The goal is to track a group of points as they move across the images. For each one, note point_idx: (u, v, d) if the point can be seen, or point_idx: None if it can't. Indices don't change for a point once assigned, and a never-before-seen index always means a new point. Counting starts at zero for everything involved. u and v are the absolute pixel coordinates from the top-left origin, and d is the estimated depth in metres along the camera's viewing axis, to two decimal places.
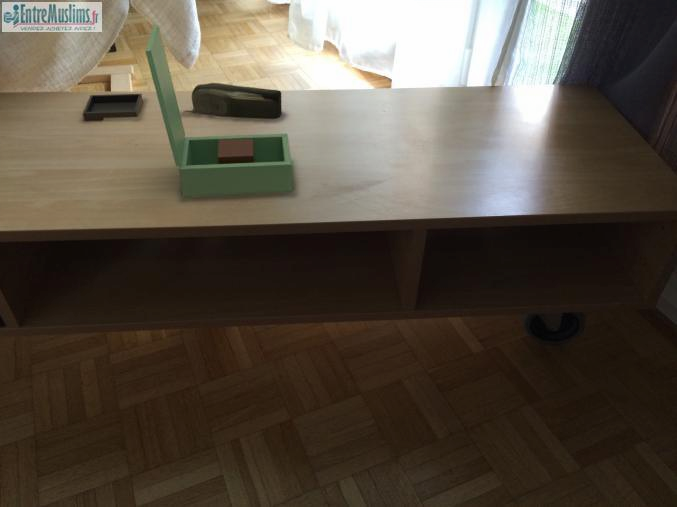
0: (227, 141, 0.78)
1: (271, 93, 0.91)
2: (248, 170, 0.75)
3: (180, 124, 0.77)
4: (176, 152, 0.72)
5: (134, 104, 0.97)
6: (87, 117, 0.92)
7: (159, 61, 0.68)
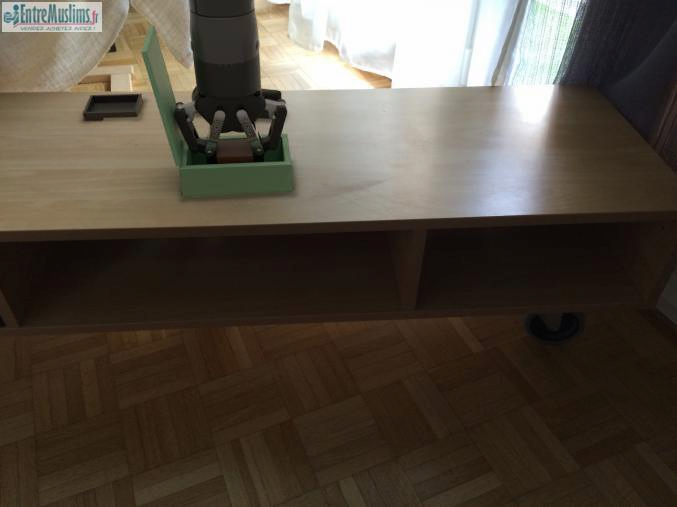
0: (226, 141, 0.78)
1: (271, 93, 0.91)
2: (248, 170, 0.75)
3: None
4: (175, 152, 0.72)
5: (134, 104, 0.97)
6: (87, 117, 0.92)
7: (156, 61, 0.68)
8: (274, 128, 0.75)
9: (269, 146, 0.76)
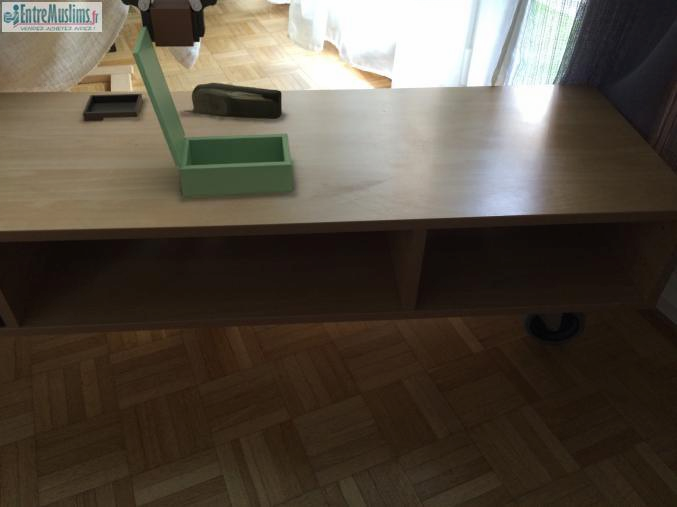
0: None
1: (271, 93, 0.91)
2: (248, 170, 0.75)
3: (178, 124, 0.77)
4: (174, 152, 0.72)
5: (134, 104, 0.97)
6: (87, 117, 0.92)
7: (149, 62, 0.68)
8: None
9: (207, 0, 0.71)
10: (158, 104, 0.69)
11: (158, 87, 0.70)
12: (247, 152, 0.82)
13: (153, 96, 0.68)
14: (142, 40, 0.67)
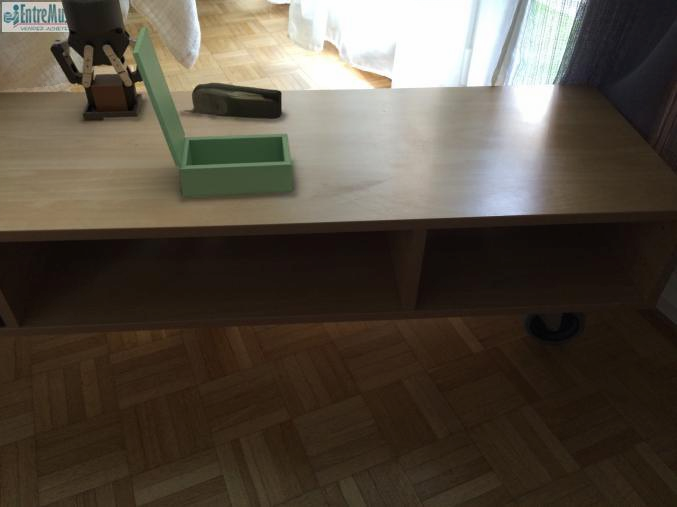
0: (103, 75, 0.93)
1: (271, 93, 0.91)
2: (248, 170, 0.75)
3: (178, 124, 0.77)
4: (174, 152, 0.72)
5: None
6: (87, 117, 0.92)
7: (149, 62, 0.68)
8: None
9: (136, 78, 0.91)
10: (158, 104, 0.69)
11: (158, 87, 0.70)
12: (247, 152, 0.82)
13: (153, 96, 0.68)
14: (142, 40, 0.67)
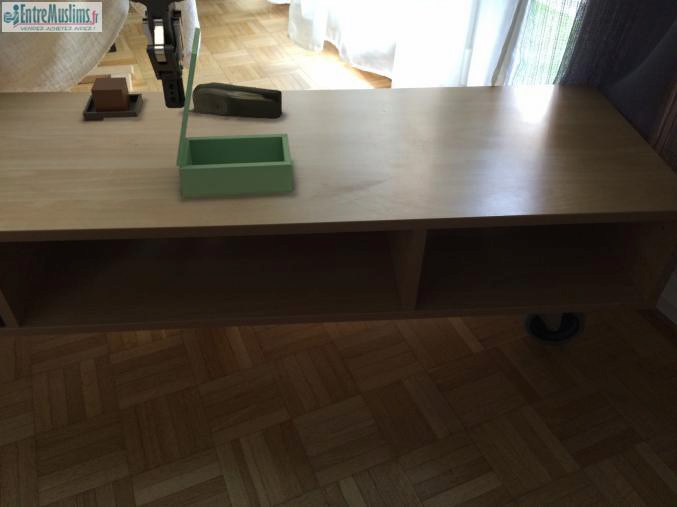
0: (103, 79, 0.93)
1: (271, 93, 0.91)
2: (248, 170, 0.75)
3: None
4: (181, 153, 0.72)
5: (134, 104, 0.97)
6: (87, 117, 0.92)
7: None
8: None
9: (181, 57, 0.71)
10: (189, 105, 0.69)
11: None
12: (247, 152, 0.82)
13: (189, 97, 0.68)
14: (198, 42, 0.68)
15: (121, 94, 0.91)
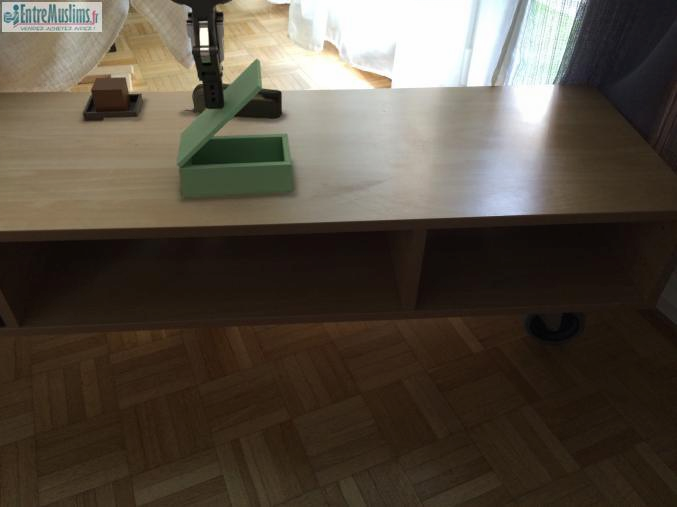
0: (103, 79, 0.93)
1: (271, 93, 0.91)
2: (248, 170, 0.75)
3: None
4: (189, 157, 0.73)
5: (134, 104, 0.97)
6: (87, 117, 0.92)
7: None
8: None
9: None
10: None
11: None
12: (247, 152, 0.82)
13: (231, 117, 0.70)
14: (260, 75, 0.72)
15: (121, 94, 0.91)
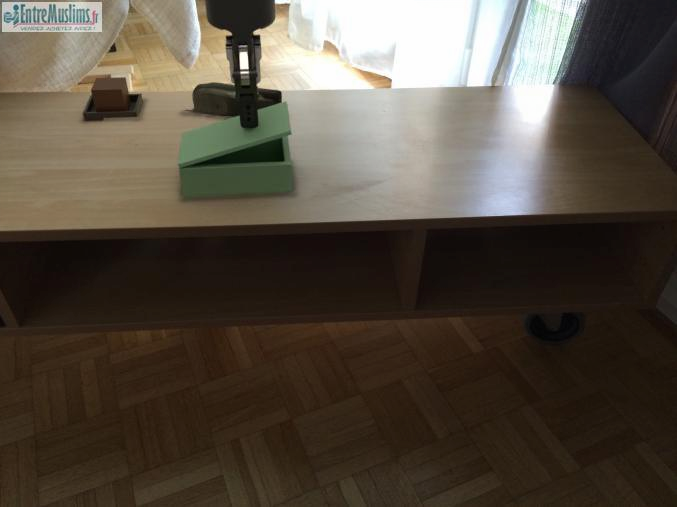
0: (103, 79, 0.93)
1: (271, 93, 0.91)
2: (248, 170, 0.75)
3: None
4: (193, 163, 0.73)
5: (134, 104, 0.97)
6: (87, 117, 0.92)
7: None
8: (255, 56, 0.74)
9: None
10: None
11: None
12: (247, 152, 0.82)
13: (251, 145, 0.73)
14: (288, 120, 0.76)
15: (121, 94, 0.91)
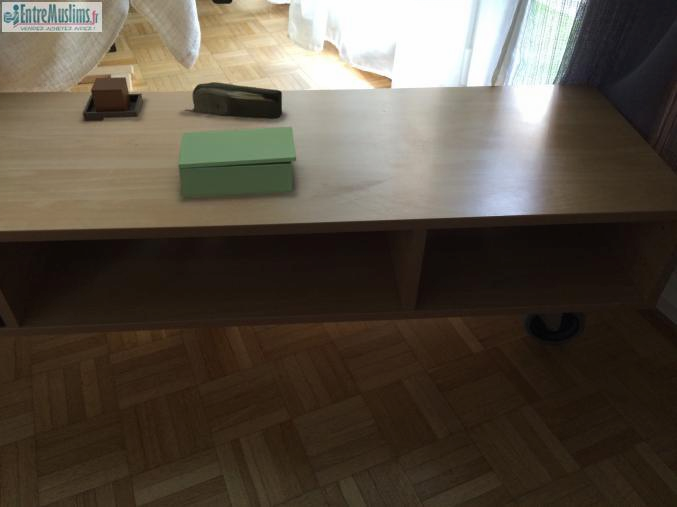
0: (103, 79, 0.93)
1: (271, 93, 0.91)
2: (248, 170, 0.75)
3: None
4: (194, 166, 0.74)
5: (134, 104, 0.97)
6: (87, 117, 0.92)
7: None
8: None
9: None
10: None
11: None
12: None
13: (254, 162, 0.75)
14: None
15: (121, 94, 0.91)
